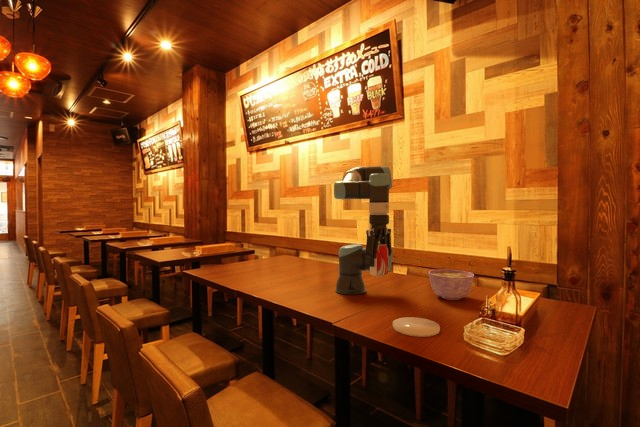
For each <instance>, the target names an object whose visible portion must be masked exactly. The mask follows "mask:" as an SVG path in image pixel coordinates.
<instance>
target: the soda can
mask: <svg viewBox="0 0 640 427" xmlns="http://www.w3.org/2000/svg"><path fill="white" fill-rule="evenodd" d="M386 245H387V244H381V243H378V247H377V252H376V257H375V258H377V276H376V277H385V276H387V275H388V274H389V271H388V247H387V246H386ZM372 276H374V275H372ZM374 277H375V276H374Z"/></svg>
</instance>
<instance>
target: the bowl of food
mask: <svg viewBox="0 0 640 427" xmlns="http://www.w3.org/2000/svg"><path fill="white" fill-rule="evenodd" d="M428 277H429V282H430V285H431V288H432V291H433V292H434V294H436V295H437V296H439V297H441V299H444V300H449V301H458V300H459V301H460V300H461V299H462V298H465V297H467V296H468V295H469V294H470V291H471V289H472V286H473V281H474V278H475V274H474V273H473V272H469V271H465V270H461V269H460V270H459V269H452V268H450V269H445V268H443V269H442V268H441V269H439V268H438V269H431V270H429V271H428Z"/></svg>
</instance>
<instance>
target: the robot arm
mask: <svg viewBox="0 0 640 427" xmlns="http://www.w3.org/2000/svg"><path fill="white" fill-rule="evenodd" d="M392 180H393V178H392V174H391V169H390V167H389V166H384V165H383V166H382V165H379V166H375V165H374V166H356V167H354V168H351V169H349V170H347V171H346V172H345V173H344V174H343V175H342V180H339V181H335V182H334V183H333V196H334V199H336V200H342V201H343V200H369V201H368V213H369V215H368V218H369V219H368V222H369V223H368V224H369V230H368V229H367V230H366V232H365V234H366V244H365V245H366V246H365V247H364V246H363V245H362V244H360V243H359V244H357V243H355V244H348V245H343V246H341V247H340V248H339V249H338V277H337V281H336V285H335V292H336V293H338V294H341V295H347V296H348V295H349V296H353V295H354V296H355V295H362V294H365V293H366V291H367V290H366V289H367V288H366V285H365V281H364V278H363V272H369V276H373V275H374V277H378V276H377V258H375V257H376V252H377V247H378V243H381V244H387V245H386V246H387V247H388V272H389V271H390V270H391V269H392V264H393V263H392V262H393V261H392V260H393V255H394V254H393V252H394V249H393V247H392V236H391V235H392V234H391V232H392V229H391V228H388V225H389V224H390V215H389V213H390V189H392V188H393V181H392Z"/></svg>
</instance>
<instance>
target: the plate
mask: <svg viewBox="0 0 640 427" xmlns="http://www.w3.org/2000/svg"><path fill="white" fill-rule="evenodd" d="M392 329H393V330H394V331H395V332H397V333H400V334H402V335H405V336H411V337H416V338H417V337H418V338H421V337H422V338H423V337H424V338H426V337H433V336H436V335H438V334H439V333H440V331H441V327H440V324H439V323H437V322H436V321H433V320H431V319H427V318H423V317H416V316H415V317H413V316H412V317H411V316H410V317H409V316H408V317H407V316H406V317H400V318H397V319H394V320H393V321H392Z"/></svg>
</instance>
